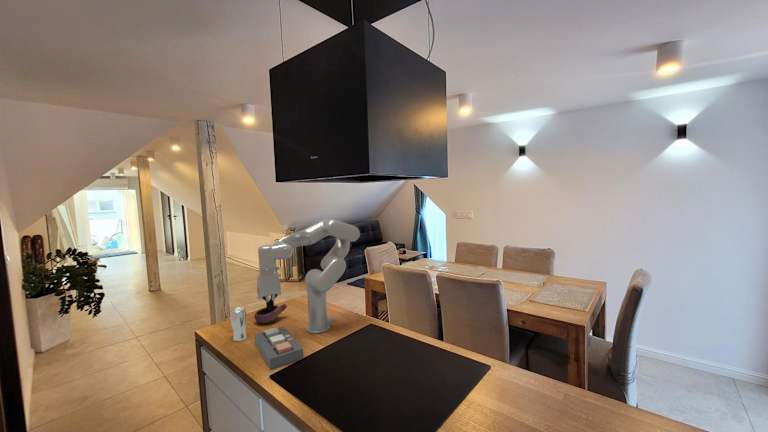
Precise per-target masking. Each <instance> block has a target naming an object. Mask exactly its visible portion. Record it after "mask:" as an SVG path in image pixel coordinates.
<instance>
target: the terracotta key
mask: <svg viewBox="0 0 768 432" xmlns="http://www.w3.org/2000/svg"><path fill="white" fill-rule="evenodd" d="M288 351H292V346H291V345H290V344H289V342H288V341H287V342H284V343H280V344H277V345H275V352H276V353H277V355H279V354H282V353H285V352H288Z"/></svg>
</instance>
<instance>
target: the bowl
mask: <svg viewBox="0 0 768 432" xmlns="http://www.w3.org/2000/svg"><path fill="white" fill-rule="evenodd" d="M287 307H288V306H287V304H285V303H283V304H281V306H280V305H274V307H273V309H271V310H269V309H268V308H267V307H263V308H261V309H259V310H256V312H255V313H254V315H253V318H254V320H255V321H256V322H257V323H260V324H269V323H271V322H273V321H275V319H276V318H278V316H279V315H280V314H282V312H283V311H285V310H286V309H287Z"/></svg>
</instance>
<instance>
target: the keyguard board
mask: <svg viewBox="0 0 768 432" xmlns="http://www.w3.org/2000/svg"><path fill="white" fill-rule="evenodd" d="M276 328H277V329H278V330H279V332H280V334H282V335H283V336H284V338H285V342H287V341H288V342H289V344H290V345H291V346H292V351H288V352H285V353H282V354H279V355H277V353H276V352H275V346H271V345H270V340H269V338H268V339H266V337H265V332H264V331H262V332H258V333H254V334H253V335H254V344H255V345H256V347H257V349H258V350H259V352H260V354H261V356H262V357H263V359H264V361H265V363H266V365H267V367H268V368H269V370H274V369H277V368H280V367H282V366H286V365H288V364H291V363H294V362H297V361H300V360H303V359H304V348H303V347H302V346H301V345H300V343H298V341H297V340H296V338H294V337H293V335H291V333H290V332H289V331H288V330H287V329H286V328H285V326H281V327H276Z"/></svg>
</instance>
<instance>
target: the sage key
mask: <svg viewBox="0 0 768 432" xmlns="http://www.w3.org/2000/svg"><path fill="white" fill-rule="evenodd" d="M277 328H278V327H273V328H272V327H271V328H268V329H265V330H264V331H263V332H265V337H266V339H268V338H269V337H273V336H276V335H280V332H279V330H278V329H277Z"/></svg>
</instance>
